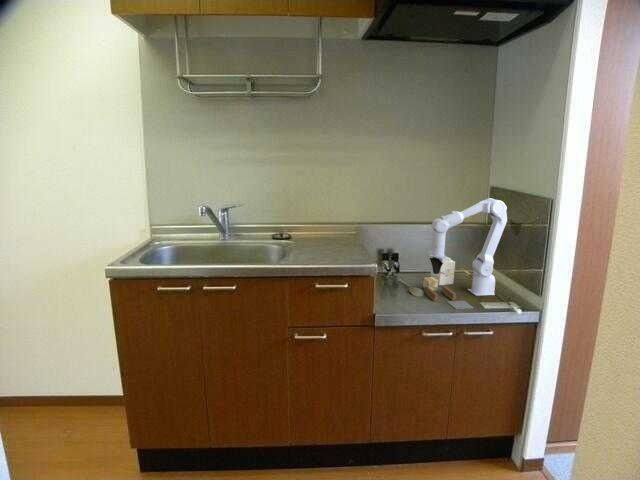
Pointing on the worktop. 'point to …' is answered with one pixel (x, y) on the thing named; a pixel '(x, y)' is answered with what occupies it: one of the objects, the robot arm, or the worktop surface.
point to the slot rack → (445, 290)
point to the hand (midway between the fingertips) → (436, 273)
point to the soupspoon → (414, 290)
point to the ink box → (445, 273)
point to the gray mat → (460, 305)
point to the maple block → (431, 283)
